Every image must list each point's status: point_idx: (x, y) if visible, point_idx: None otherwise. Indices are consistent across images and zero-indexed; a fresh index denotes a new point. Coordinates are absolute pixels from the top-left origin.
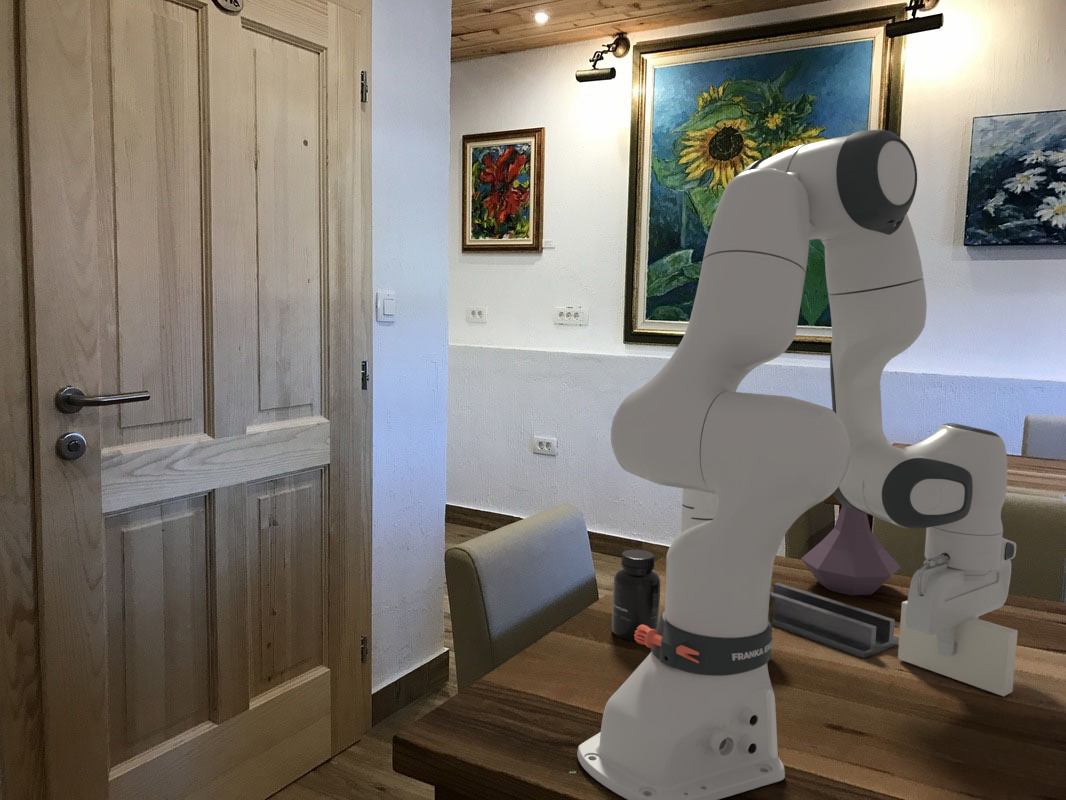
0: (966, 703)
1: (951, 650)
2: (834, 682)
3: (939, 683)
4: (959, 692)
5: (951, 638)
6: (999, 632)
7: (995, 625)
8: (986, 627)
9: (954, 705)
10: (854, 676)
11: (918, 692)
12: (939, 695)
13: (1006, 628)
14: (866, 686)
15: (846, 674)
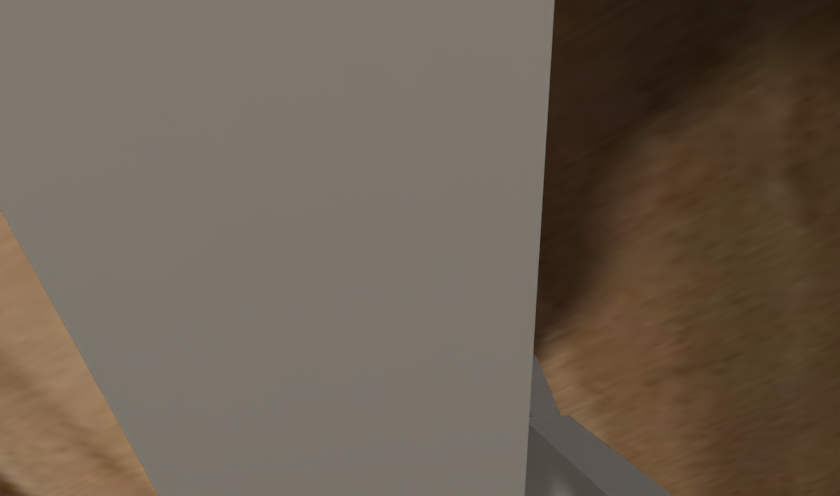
0: (645, 113)
1: (546, 382)
2: (807, 455)
3: None
4: (543, 199)
5: (620, 464)
6: (538, 149)
7: (216, 406)
8: (519, 430)
9: (713, 132)
10: (708, 453)
11: (684, 286)
12: (648, 227)
13: (112, 184)
14: (768, 399)
15: (710, 469)
